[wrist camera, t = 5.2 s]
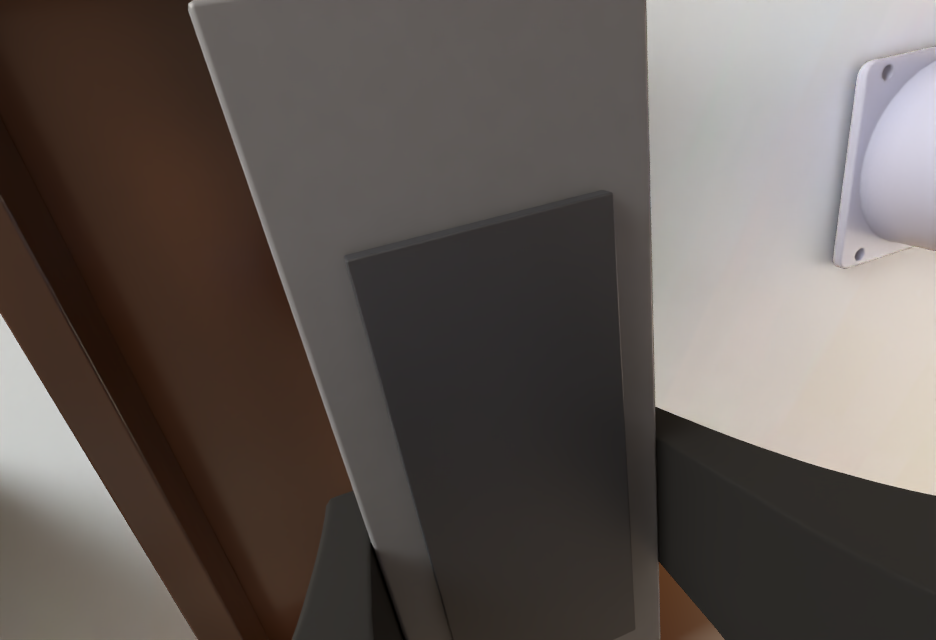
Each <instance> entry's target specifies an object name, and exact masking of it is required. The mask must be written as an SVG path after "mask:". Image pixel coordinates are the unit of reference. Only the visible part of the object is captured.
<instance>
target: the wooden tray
mask: <svg viewBox="0 0 936 640" xmlns="http://www.w3.org/2000/svg"><path fill="white" fill-rule="evenodd" d="M191 1H193V0H0V313H1V315H2V317H3V318H4V320H5V322H6V323H7V325H8V327H9V328H10V330H11V332H12V333H13V335H14V337H15V338H16V340H17V341H18V343H19V345H20V346H21V348H22V350H23V351H24V353H25V355H26V356H27V358H28V360H29V361H30V363H31V365H32V366H33V368H34V370H35V371H36V373H37V375H38V376H39V378H40V380H41V381H42V383H43V384H44V386H45V388H46V389H47V391H48V393H49V394H50V396H51V398H52V399H53V401H54V403H55V404H56V406H57V408H58V409H59V411H60V413H61V414H62V416H63V418H64V419H65V421H66V423H67V424H68V426H69V427H70V429H71V431H72V432H73V434H74V436H75V437H76V439H77V441H78V442H79V444H80V446H81V447H82V449H83V451H84V452H85V454H86V456H87V457H88V459H89V461H90V462H91V464H92V466H93V467H94V469H95V471H96V472H97V474H98V475H99V477H100V479H101V480H102V482H103V484H104V485H105V487H106V489H107V490H108V492H109V494H110V495H111V497H112V499H113V500H114V502H115V504H116V505H117V507H118V509H119V510H120V512H121V514H122V515H123V517H124V518H125V520H126V522H127V523H128V525H129V527H130V528H131V530H132V532H133V533H134V535H135V537H136V538H137V540H138V542H139V543H140V545H141V547H142V548H143V550H144V552H145V553H146V555H147V557H148V558H149V560H150V561H151V563H152V565H153V566H154V568H155V570H156V571H157V573H158V575H159V576H160V578H161V580H162V581H163V583H164V585H165V586H166V588H167V590H168V591H169V593H170V595H171V596H172V598H173V600H174V601H175V603H176V604H177V606H178V608H179V609H180V611H181V613H182V614H183V616H184V618H185V619H186V621H187V623H188V624H189V626H190V628H191V629H192V631H193V633H194V634H195V636H196V638H197V639H198V640H292V637H293V635H294V632H295V629H296V626H297V623H298V620H299V617H300V614H301V610H302V607H303V604H304V600H305V597H306V593H307V589H308V586H309V582H310V579H311V575H312V572H313V568H314V564H315V560H316V556H317V552H318V548H319V544H320V539H321V534H322V529H323V524H324V518H325V511H326V505H327V504H328V502H329V501H330V499H331V498H334V497H336V496H339V495H342V494H345V493H348V492H351V491H353V488H352V485H351V482H350V479H349V476H348V473H347V471H346V468H345V465H344V462H343V459H342V456H341V453H340V450H339V447H338V444H337V441H336V439H335V436H334V433H333V430H332V427H331V424H330V421H329V418H328V415H327V412H326V409H325V407H324V404H323V401H322V398H321V395H320V392H319V389H318V386H317V383H316V380H315V378H314V375H313V372H312V369H311V366H310V363H309V360H308V357H307V354H306V351H305V348H304V346H303V343H302V340H301V337H300V334H299V331H298V328H297V325H296V322H295V319H294V317H293V314H292V311H291V308H290V305H289V302H288V299H287V296H286V293H285V290H284V287H283V285H282V282H281V279H280V276H279V273H278V270H277V267H276V264H275V261H274V258H273V256H272V253H271V250H270V247H269V244H268V241H267V238H266V235H265V232H264V229H263V226H262V224H261V221H260V218H259V215H258V212H257V209H256V206H255V203H254V200H253V197H252V195H251V192H250V189H249V186H248V183H247V180H246V177H245V174H244V171H243V168H242V165H241V163H240V160H239V157H238V154H237V151H236V148H235V145H234V142H233V139H232V136H231V133H230V131H229V128H228V125H227V122H226V119H225V116H224V113H223V110H222V107H221V104H220V102H219V99H218V96H217V93H216V90H215V87H214V84H213V81H212V78H211V75H210V72H209V70H208V67H207V64H206V61H205V58H204V55H203V52H202V49H201V46H200V43H199V41H198V38H197V35H196V32H195V29H194V26H193V23H192V20H191V17H190V14H189V11H188V3H190V2H191Z"/></svg>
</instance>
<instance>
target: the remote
mask: <svg viewBox="0 0 936 640" xmlns="http://www.w3.org/2000/svg"><path fill="white" fill-rule="evenodd" d="M188 11H189V14H190V17H191V20H192V23H193V26H194V29H195V32H196V35H197V38H198V41H199V43H200V46H201V49H202V52H203V55H204V58H205V61H206V64H207V67H208V70H209V72H210V75H211V78H212V81H213V84H214V87H215V90H216V93H217V96H218V99H219V102H220V104H221V107H222V110H223V113H224V116H225V119H226V122H227V125H228V128H229V131H230V133H231V136H232V139H233V142H234V145H235V148H236V151H237V154H238V157H239V160H240V163H241V165H242V168H243V171H244V174H245V177H246V180H247V183H248V186H249V189H250V192H251V195H252V197H253V200H254V203H255V206H256V209H257V212H258V215H259V218H260V221H261V224H262V226H263V229H264V232H265V235H266V238H267V241H268V244H269V247H270V250H271V253H272V256H273V258H274V261H275V264H276V267H277V270H278V273H279V276H280V279H281V282H282V285H283V287H284V290H285V293H286V296H287V299H288V302H289V305H290V308H291V311H292V314H293V317H294V319H295V322H296V325H297V328H298V331H299V334H300V337H301V340H302V343H303V346H304V348H305V351H306V354H307V357H308V360H309V363H310V366H311V369H312V372H313V375H314V378H315V380H316V383H317V386H318V389H319V392H320V395H321V398H322V401H323V404H324V407H325V409H326V412H327V415H328V418H329V421H330V424H331V427H332V430H333V433H334V436H335V439H336V441H337V444H338V447H339V450H340V453H341V456H342V459H343V462H344V465H345V468H346V471H347V473H348V476H349V479H350V482H351V485H352V488H353V491H354V494H355V497H356V500H357V502H358V505H359V508H360V511H361V514H362V517H363V520H364V523H365V526H366V529H367V532H368V534H369V537H370V540H371V543H372V546H373V549H374V552H375V555H376V558H377V561H378V563H379V566H380V569H381V572H382V575H383V578H384V581H385V584H386V587H387V590H388V593H389V595H390V598H391V601H392V604H393V607H394V610H395V613H396V616H397V619H398V622H399V624H400V627H401V630H402V633H403V636H404V639H405V640H660V604H659V563H658V562H659V558H658V513H657V467H656V422H655V377H654V332H653V287H652V242H651V196H650V151H649V106H648V61H647V16H646V0H193V1H191V2H190V3H188Z"/></svg>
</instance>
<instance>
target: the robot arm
mask: <svg viewBox="0 0 936 640" xmlns="http://www.w3.org/2000/svg"><path fill="white" fill-rule="evenodd" d="M911 247H919V248H924V249H928V250H933V251H936V46H934V47H929V48H924V49H920V50H915V51H911V52H906V53H902V54H897V55H893V56H888V57H884V58H879V59H875V60H870V61H868V62H866V63H865V64H864V65H863V66H862V67H861V68H860V70H859V72H858V75H857V80H856V88H855V95H854V103H853V111H852V118H851V126H850V133H849V141H848V148H847V156H846V163H845V171H844V178H843V186H842V193H841V201H840V209H839V216H838V224H837V231H836V239H835V246H834V254H833V263H834V265H835V266H837V267H840V268H844V269H845V268H850V267H853V266H856V265H859V264H862V263H865V262H868V261H872V260H875V259H878V258H881V257H884V256H887V255H890V254H893V253H896V252H899V251H902V250H905V249H908V248H911ZM655 422H656V467H657V513H658V558H659V562H660V563H661V565H662V566H663V567H664V568H665V569H666V570H667V571H668V573H669V574H670V575H671V576H672V577H673V579H674V580H675V581H676V582H677V583H678V584H679V586H680V587H681V588H682V589H683V590H684V592H685V593H686V594H687V595H688V596H689V597H690V599H691V600H692V601H693V602H694V603H695V604H696V605H697V607H698V608H699V609H700V610H701V611H702V613H703V614H704V615H705V616H706V617H707V618H708V620H709V621H710V622H711V623H712V624H713V625H714V627H715V628H716V629H717V630H718V632H719V633H720V634H721V635H722V637H723V638H724V639H725V640H936V496H934V495H929V494H924V493H920V492H915V491H910V490H906V489H902V488H898V487H893V486H889V485H885V484H881V483H877V482H873V481H870V480H866V479H862V478H858V477H855V476H851V475H847V474H844V473H840V472H836V471H833V470H829V469H826V468H822V467H819V466H816V465H812V464H809V463H806V462H802V461H799V460H796V459H793V458H790V457H787V456H784V455H781V454H778V453H775V452H772V451H769V450H766V449H763V448H761V447H758V446H755V445H752V444H749V443H747V442H744V441H741V440H738V439H736V438H733V437H730V436H728V435H725V434H722V433H720V432H717V431H715V430H712V429H709V428H707V427H704V426H702V425H699V424H697V423H694V422H692V421H689V420H687V419H684V418H682V417H679V416H677V415H674V414H672V413H669V412H667V411H664V410H662V409H659V408H657V407H655ZM292 640H405V639H404V636H403V633H402V630H401V627H400V624H399V622H398V619H397V616H396V613H395V610H394V607H393V604H392V601H391V598H390V595H389V593H388V590H387V587H386V584H385V581H384V578H383V575H382V572H381V569H380V566H379V563H378V561H377V558H376V555H375V552H374V549H373V546H372V543H371V540H370V537H369V534H368V532H367V529H366V526H365V523H364V520H363V517H362V514H361V511H360V508H359V505H358V502H357V500H356V497H355V494H354V491H351V492H348V493H345V494H342V495H339V496H336V497H334V498H331V499H330V501H329V502H328V504H327V505H326V511H325V518H324V524H323V529H322V534H321V539H320V544H319V548H318V552H317V556H316V560H315V564H314V568H313V572H312V575H311V579H310V582H309V586H308V589H307V593H306V597H305V600H304V604H303V607H302V610H301V614H300V617H299V620H298V623H297V626H296V629H295V632H294V635H293V637H292Z"/></svg>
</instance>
